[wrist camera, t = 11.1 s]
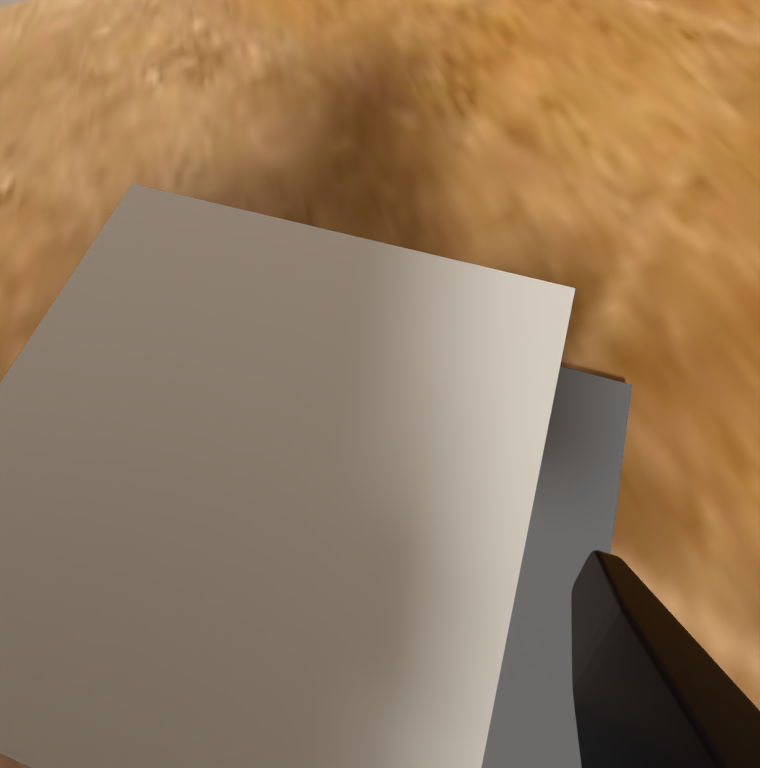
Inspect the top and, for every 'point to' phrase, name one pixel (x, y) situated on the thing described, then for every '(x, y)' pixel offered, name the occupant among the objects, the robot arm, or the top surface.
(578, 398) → the charcoal rubber mat
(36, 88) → the top surface
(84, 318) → the off-white post
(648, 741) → the robot arm
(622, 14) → the top surface
